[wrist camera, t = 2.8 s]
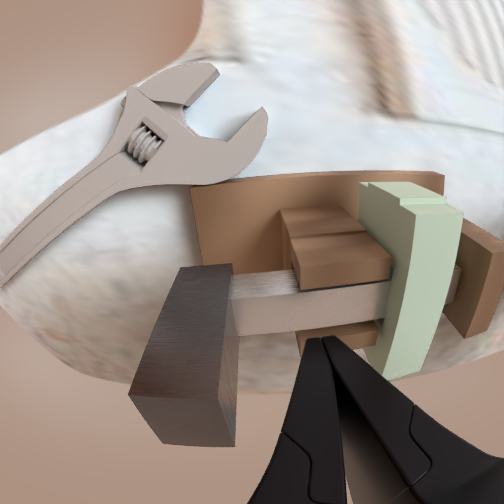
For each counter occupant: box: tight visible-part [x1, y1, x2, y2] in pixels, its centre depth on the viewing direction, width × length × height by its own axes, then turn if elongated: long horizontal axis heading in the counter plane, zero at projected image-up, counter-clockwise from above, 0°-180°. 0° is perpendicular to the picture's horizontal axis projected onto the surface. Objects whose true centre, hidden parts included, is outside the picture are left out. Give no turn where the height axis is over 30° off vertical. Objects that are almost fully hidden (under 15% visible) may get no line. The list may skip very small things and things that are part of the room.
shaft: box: [128, 263, 462, 447], centre depth 8 cm, size 11×2×6 cm, turn 96°
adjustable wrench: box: [0, 63, 268, 288], centre depth 13 cm, size 25×6×2 cm, turn 110°
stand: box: [190, 171, 504, 357], centre depth 12 cm, size 14×7×8 cm, turn 96°
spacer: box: [358, 182, 464, 380], centre depth 10 cm, size 2×7×5 cm, turn 5°
